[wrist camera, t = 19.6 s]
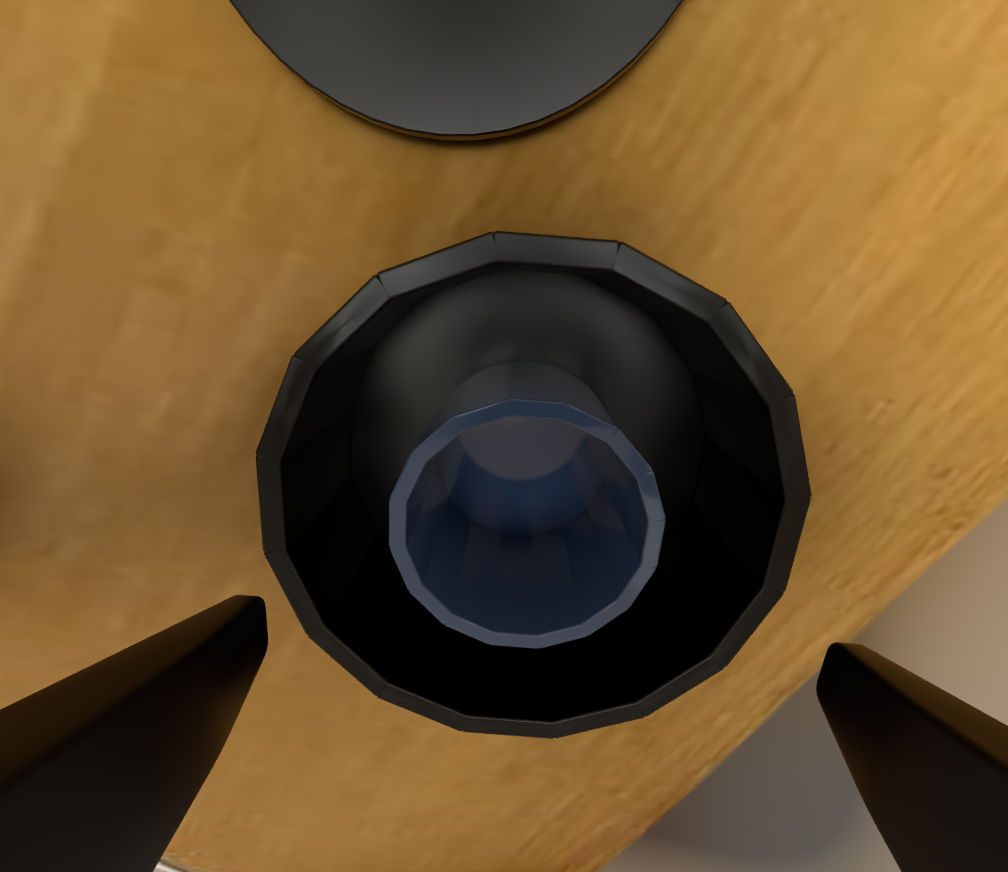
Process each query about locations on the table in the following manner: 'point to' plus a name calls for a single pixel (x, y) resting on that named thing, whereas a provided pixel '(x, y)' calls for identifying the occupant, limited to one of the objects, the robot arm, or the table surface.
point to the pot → (634, 404)
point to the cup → (525, 510)
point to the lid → (458, 57)
